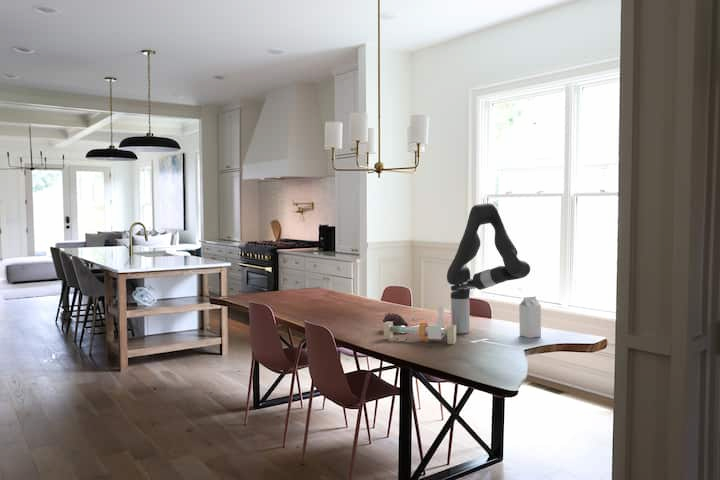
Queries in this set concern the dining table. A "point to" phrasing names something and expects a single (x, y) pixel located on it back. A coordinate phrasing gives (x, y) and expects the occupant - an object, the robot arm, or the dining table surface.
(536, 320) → the milk carton
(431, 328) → the sleeve
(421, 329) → the ring
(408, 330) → the pipe rail
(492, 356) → the dining table surface
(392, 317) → the pine cone
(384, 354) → the dining table surface
